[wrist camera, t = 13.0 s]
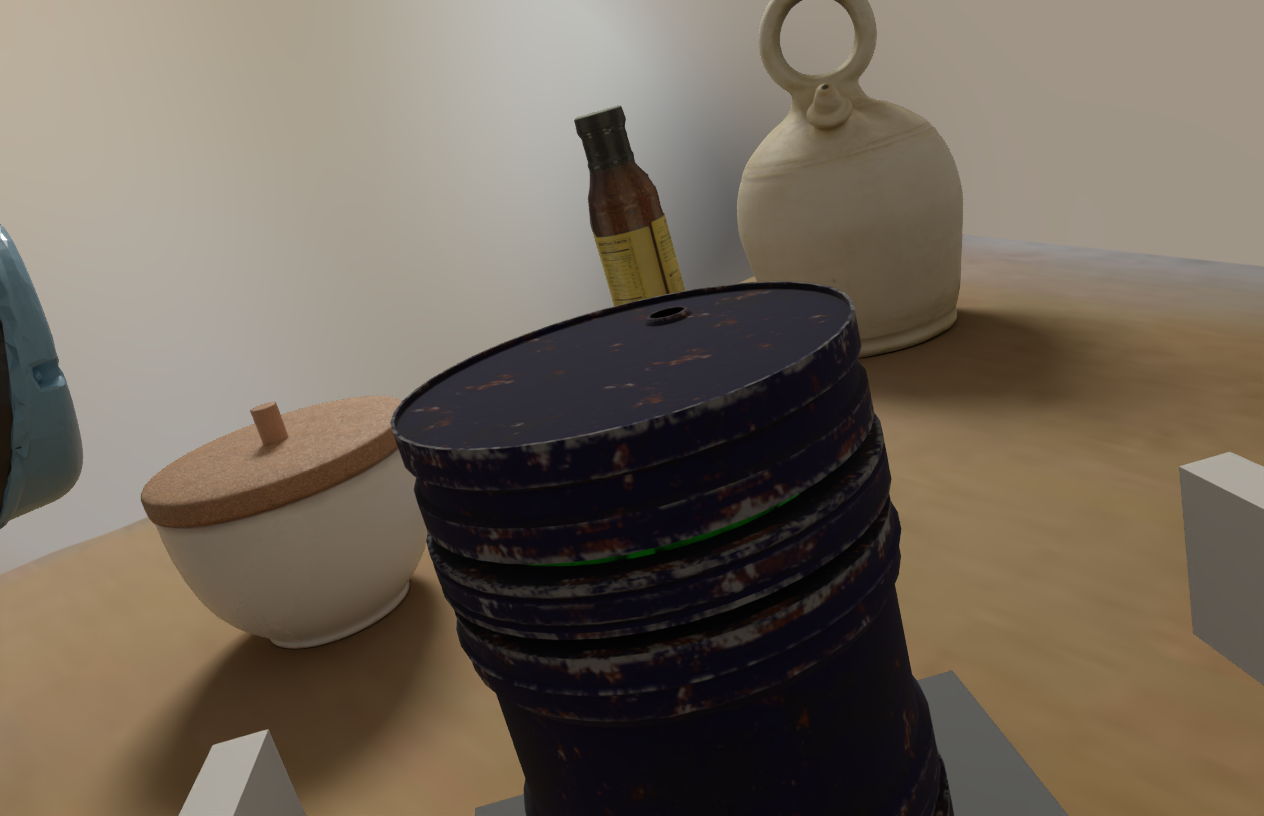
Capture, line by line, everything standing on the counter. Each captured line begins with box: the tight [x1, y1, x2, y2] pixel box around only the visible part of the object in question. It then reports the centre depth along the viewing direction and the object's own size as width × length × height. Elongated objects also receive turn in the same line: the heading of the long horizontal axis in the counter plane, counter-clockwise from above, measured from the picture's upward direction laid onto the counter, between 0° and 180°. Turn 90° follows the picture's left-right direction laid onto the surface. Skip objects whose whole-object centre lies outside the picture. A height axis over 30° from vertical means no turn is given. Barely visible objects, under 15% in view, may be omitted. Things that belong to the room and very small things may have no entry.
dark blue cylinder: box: [390, 281, 954, 816], centre depth 22 cm, size 10×10×15 cm
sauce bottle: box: [574, 106, 685, 306], centre depth 81 cm, size 7×6×20 cm
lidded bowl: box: [141, 396, 427, 649], centre depth 47 cm, size 13×13×11 cm
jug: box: [737, 0, 963, 358], centre depth 67 cm, size 15×16×25 cm
